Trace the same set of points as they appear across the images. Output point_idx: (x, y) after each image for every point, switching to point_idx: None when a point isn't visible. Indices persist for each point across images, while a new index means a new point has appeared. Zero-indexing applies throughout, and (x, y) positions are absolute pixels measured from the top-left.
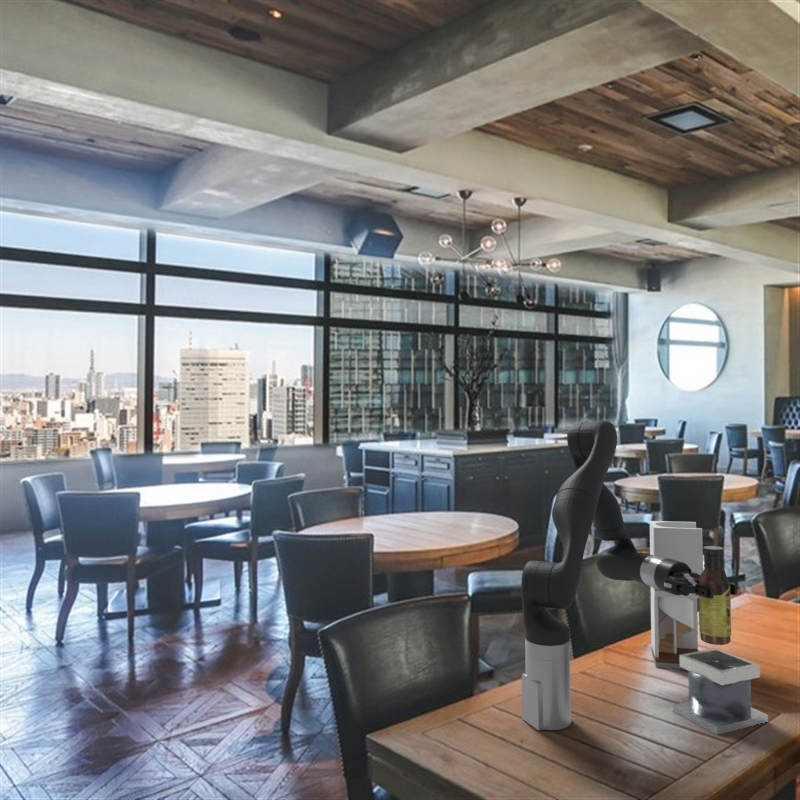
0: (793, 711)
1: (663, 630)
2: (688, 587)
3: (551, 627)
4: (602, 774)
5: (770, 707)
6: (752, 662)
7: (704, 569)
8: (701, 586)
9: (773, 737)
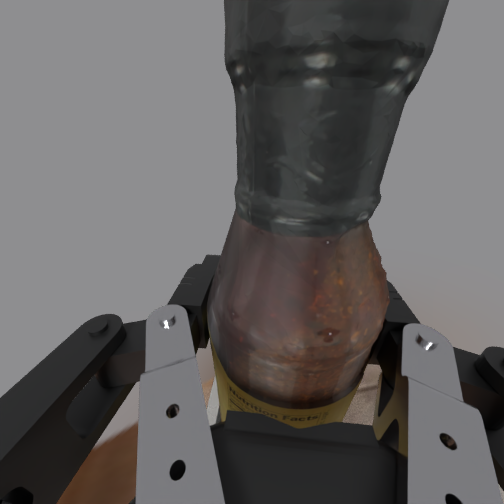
0: (134, 423)
1: None
2: (475, 357)
3: None
4: None
5: None
6: (214, 382)
7: (368, 232)
8: (392, 299)
9: None
